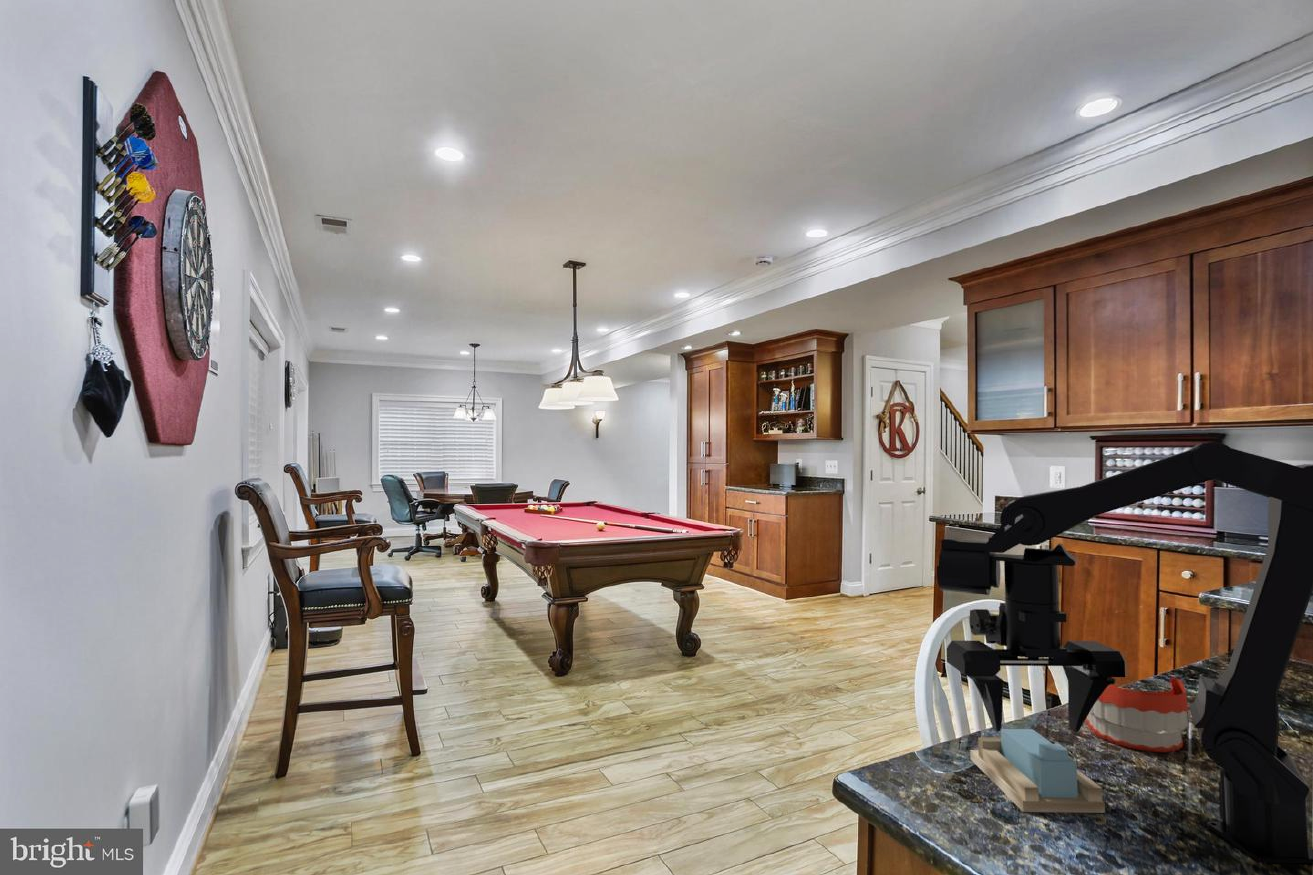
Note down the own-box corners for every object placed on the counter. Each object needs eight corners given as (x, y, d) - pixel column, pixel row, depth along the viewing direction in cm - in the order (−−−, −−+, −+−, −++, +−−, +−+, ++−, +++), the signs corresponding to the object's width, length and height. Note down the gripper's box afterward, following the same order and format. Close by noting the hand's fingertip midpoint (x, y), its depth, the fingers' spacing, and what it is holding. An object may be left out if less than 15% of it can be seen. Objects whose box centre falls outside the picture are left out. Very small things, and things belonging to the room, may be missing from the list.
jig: (1104, 812, 72) (1103, 779, 72) (1023, 811, 73) (1022, 779, 73) (1039, 759, 85) (1038, 731, 85) (970, 759, 86) (969, 731, 86)
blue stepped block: (1077, 797, 73) (1076, 750, 74) (1041, 797, 73) (1040, 750, 74) (1033, 761, 82) (1032, 719, 83) (1001, 761, 82) (1000, 719, 83)
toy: (1088, 746, 89) (1086, 687, 90) (1079, 720, 99) (1077, 666, 99) (1204, 765, 84) (1201, 702, 84) (1183, 735, 93) (1181, 678, 93)
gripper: (1069, 587, 86) (1072, 705, 86) (928, 586, 87) (930, 704, 86) (1127, 605, 75) (1132, 741, 75) (965, 605, 76) (968, 740, 75)
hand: (1035, 730), depth 78 cm, fingers open, 9 cm apart
